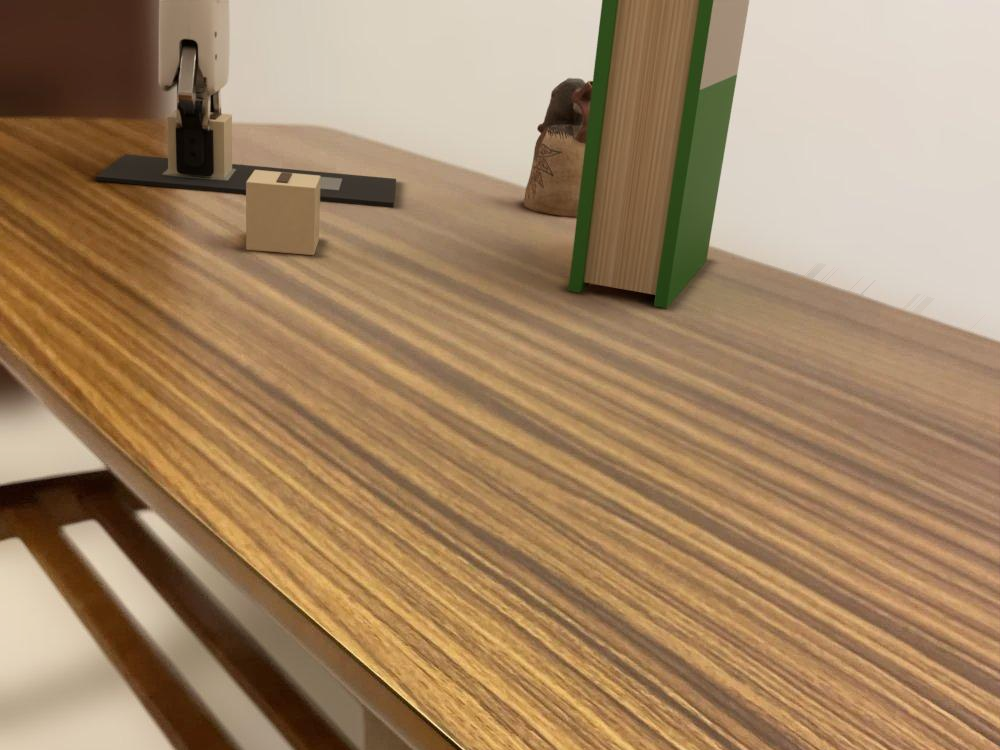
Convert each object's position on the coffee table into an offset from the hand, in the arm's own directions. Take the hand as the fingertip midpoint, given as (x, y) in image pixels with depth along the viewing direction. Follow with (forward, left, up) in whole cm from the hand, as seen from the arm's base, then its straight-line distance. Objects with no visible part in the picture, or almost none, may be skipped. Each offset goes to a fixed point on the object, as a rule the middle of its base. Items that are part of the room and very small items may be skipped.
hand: (200, 166), depth 114 cm
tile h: (0, 0, 0) cm, 0 cm away
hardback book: (+38, -24, -1) cm, 45 cm away
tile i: (+10, -24, -1) cm, 26 cm away
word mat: (+5, 0, -1) cm, 5 cm away
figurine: (+34, 0, -1) cm, 34 cm away
